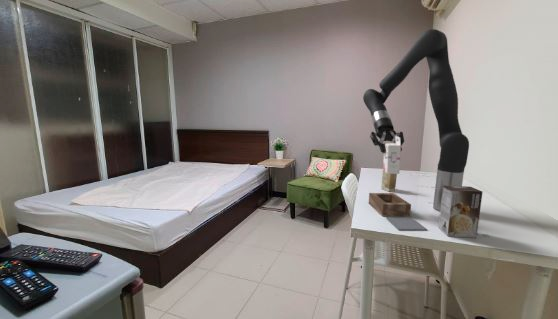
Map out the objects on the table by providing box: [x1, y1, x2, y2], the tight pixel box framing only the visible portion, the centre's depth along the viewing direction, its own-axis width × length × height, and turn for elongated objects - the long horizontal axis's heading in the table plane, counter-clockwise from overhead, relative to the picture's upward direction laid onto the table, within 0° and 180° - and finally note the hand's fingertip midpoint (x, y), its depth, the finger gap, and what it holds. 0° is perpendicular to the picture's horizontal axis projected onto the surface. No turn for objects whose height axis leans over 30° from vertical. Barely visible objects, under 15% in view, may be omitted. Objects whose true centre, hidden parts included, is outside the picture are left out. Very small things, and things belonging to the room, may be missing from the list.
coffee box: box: [438, 185, 483, 239], centre depth 84 cm, size 9×6×16 cm
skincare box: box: [380, 169, 398, 193], centre depth 134 cm, size 6×4×12 cm
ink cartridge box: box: [382, 135, 402, 175], centre depth 103 cm, size 9×5×15 cm, turn 169°
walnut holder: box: [368, 192, 412, 217], centre depth 106 cm, size 11×15×5 cm
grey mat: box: [385, 217, 428, 231], centre depth 92 cm, size 10×10×1 cm
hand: (392, 152), depth 103 cm, fingers closed on ink cartridge box, 5 cm apart
